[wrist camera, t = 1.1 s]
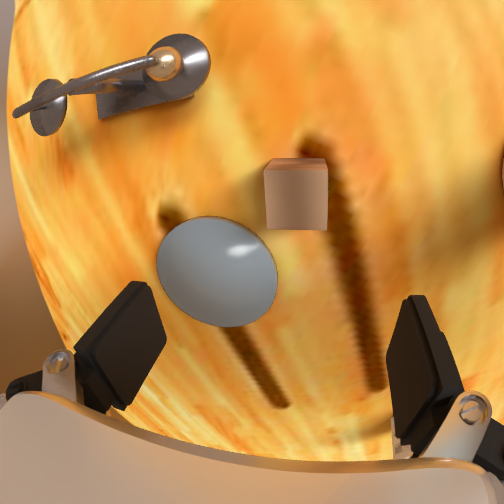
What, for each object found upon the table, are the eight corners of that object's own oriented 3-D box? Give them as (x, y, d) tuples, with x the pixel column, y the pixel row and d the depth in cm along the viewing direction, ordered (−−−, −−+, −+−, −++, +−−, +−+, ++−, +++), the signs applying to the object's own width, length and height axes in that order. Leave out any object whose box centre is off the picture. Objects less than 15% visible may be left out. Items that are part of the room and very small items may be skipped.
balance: (227, 42, 22) (167, 2, 11) (231, 96, 24) (172, 89, 13) (78, 86, 26) (-2, 95, 15) (82, 129, 29) (3, 151, 18)
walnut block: (324, 158, 26) (328, 170, 21) (324, 206, 28) (326, 230, 23) (273, 158, 27) (263, 170, 22) (275, 206, 29) (266, 229, 24)
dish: (275, 215, 29) (274, 219, 28) (279, 325, 36) (277, 331, 35) (150, 217, 33) (145, 220, 32) (174, 315, 39) (171, 320, 38)
